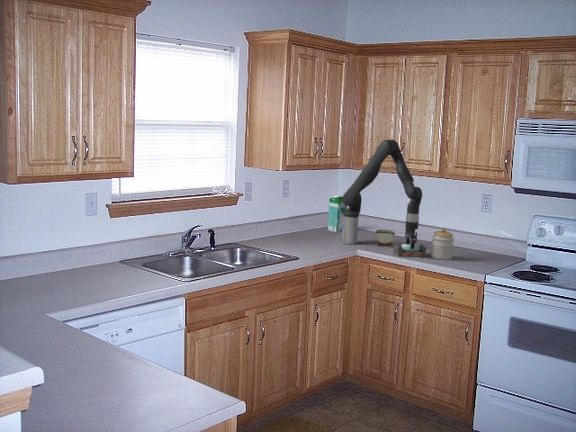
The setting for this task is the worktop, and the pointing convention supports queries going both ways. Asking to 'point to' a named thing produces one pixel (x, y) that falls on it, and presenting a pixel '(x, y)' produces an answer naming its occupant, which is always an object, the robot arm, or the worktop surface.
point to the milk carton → (336, 214)
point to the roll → (407, 248)
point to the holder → (409, 254)
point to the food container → (385, 237)
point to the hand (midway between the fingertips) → (410, 247)
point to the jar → (442, 245)
